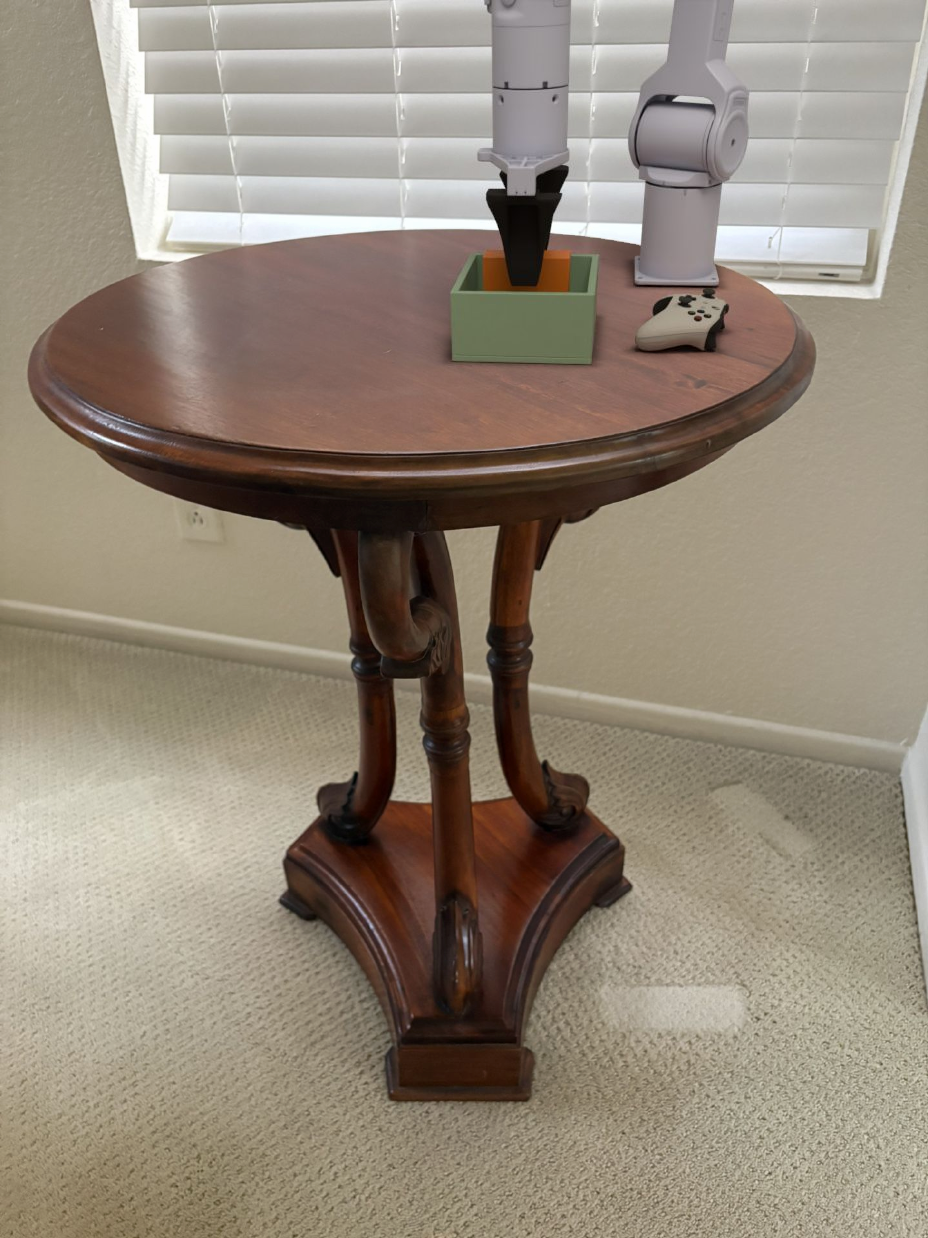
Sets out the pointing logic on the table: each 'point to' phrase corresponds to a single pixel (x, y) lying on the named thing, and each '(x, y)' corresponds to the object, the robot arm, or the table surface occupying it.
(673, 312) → the game controller
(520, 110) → the robot arm
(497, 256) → the block
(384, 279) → the table surface
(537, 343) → the bin
